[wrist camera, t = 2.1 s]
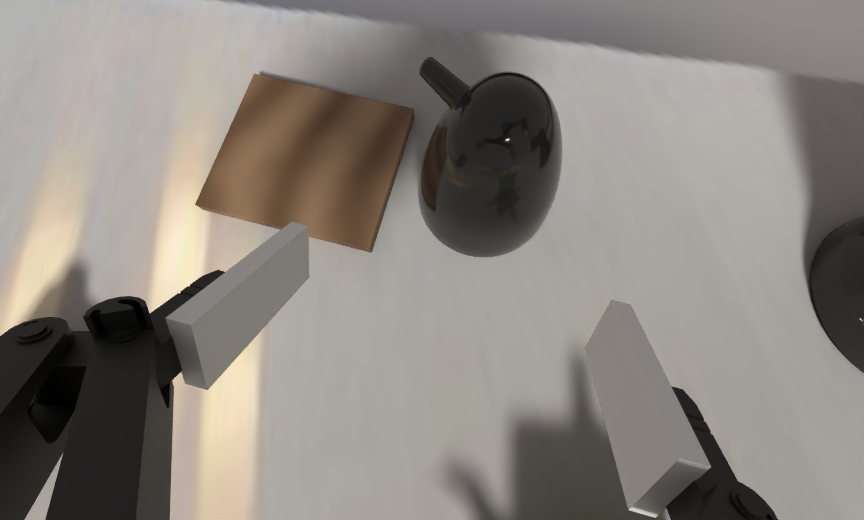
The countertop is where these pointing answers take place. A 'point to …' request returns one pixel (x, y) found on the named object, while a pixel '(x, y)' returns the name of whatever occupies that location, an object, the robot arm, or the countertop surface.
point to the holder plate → (309, 161)
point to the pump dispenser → (489, 162)
